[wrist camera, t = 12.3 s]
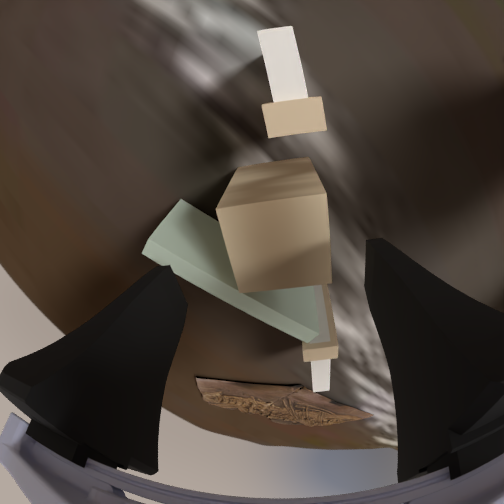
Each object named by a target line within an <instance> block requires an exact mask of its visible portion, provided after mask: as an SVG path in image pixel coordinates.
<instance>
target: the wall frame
mask: <svg viewBox="0 0 504 504" xmlns="http://www.w3.org/2000/svg"><path fill="white" fill-rule="evenodd" d="M257 33H258V37H259V41H260V45H261V49H262V53H263V57H264V62H265V66H266V70H267V75H268V79H269V84H270V88H271V93H272V97H273V102H268V103H265V104H262V110H263V114H264V119H265V124H266V129H267V133H268V138H273V137H280V136H286V135H293V134H301V133H309V132H317V131H327V128H326V121H325V115H324V109H323V103H322V98H321V97H308V94H307V89H306V84H305V79H304V75H303V70H302V65H301V61H300V57H299V52H298V48H297V44H296V40H295V36H294V32H293V28H292V26H288V27H280V28H272V29H266V30H260V31H257ZM314 293H315V301H316V308H317V316H318V325H319V333H320V334H319V335H318V336H316V337H315V338H314V339H312V340H311V341H310V342H309V343H306V342H304V341H302V348H303V358H304V362H308V361H311V369H312V383H313V392H320V391H328V390H329V389H330V359H333V358H338V341H337V335H336V329H335V323H334V317H333V312H332V306H331V301H330V296H329V291H328V286H327V284H322V285H314Z"/></svg>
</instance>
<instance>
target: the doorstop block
mask: <svg viewBox="0 0 504 504" xmlns="http://www.w3.org/2000/svg"><path fill="white" fill-rule="evenodd" d="M216 212H217V216H218V220H219V223H220V227H221V230H222V234H223V238H224V241H225V245H226V248H227V252H228V255H229V259H230V262H231V266H232V269H233V273H234V276H235V280H236V283H237V286H238V290H239V293H248V292H258V291H269V290H278V289H288V288H297V287H306V286H314V285H322V284H331V283H332V271H331V247H330V230H329V216H328V204H327V193H326V191H325V189H324V187H323V185H322V183H321V181H320V179H319V177H318V174H317V172H316V170H315V168H314V166H313V164H312V162H311V160H310V158H309V157H303V158H296V159H288V160H281V161H274V162H267V163H261V164H255V165H249V166H243V167H238V168H237V170H236V172H235V173H234V175H233V177H232V179H231V181H230V183H229V185H228V186H227V188H226V190H225V192H224V194H223V196H222V198H221V200H220V202H219V204H218V206H217V207H216Z"/></svg>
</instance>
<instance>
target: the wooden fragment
mask: <svg viewBox="0 0 504 504" xmlns="http://www.w3.org/2000/svg"><path fill="white" fill-rule="evenodd" d="M195 376H196V375H195ZM196 380H197V387H198V389H199V390H200V392H201V393H202V396H203V399H204V400H205V401H208V403H209V404H210V405H217V406H220V407H223V408H226V409H232V410H234V409H236V408H237V409H238V410H240V411H241V412H243V413H246V414H248V413H249V414H256V413H257V414H258V415H262V416H264V417H266V418H271V421H273V422H276V423H280V424H294V425H299V424H301V425H308V426H310V427H311V426H315V425H319V426H322V425H326V426H329V425H332V424H334V423H342V422H345V421H354V420H360V419H363V418H368V417H371V416H373V415H372V414H370V413H366V412H363V411H360V410H358V409H355V408H353V407H349V406H346V405H343V404H339V403H337V402H335V401H333V400H330V399H328V398H326V397H324V396H322V395H319V394H318V393H317V394H316V393H314V392H313V391H311V390H308V389H307V388H306V387H304V388H302V389H301V390H300V389H299V388H301V387H303V385H295V386H292V387H290V386H273V385H258V384H248V383H238V382H230V381H221V380H210V379H200V378H196Z"/></svg>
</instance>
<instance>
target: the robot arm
mask: <svg viewBox="0 0 504 504" xmlns="http://www.w3.org/2000/svg"><path fill="white" fill-rule="evenodd" d="M364 287H365V291H366V295H367V300H368V304H369V308H370V311H371V314H372V317H373V320H374V323H375V325H376V328H377V331H378V334H379V337H380V340H381V343H382V346H383V349H384V352H385V355H386V358H387V362H388V366H389V369H390V375H391V380H392V386H393V393H394V400H395V409H396V419H397V435H398V469H397V475H398V483H397V484H394V485H389V486H385V487H381V488H376V489H371V490H367V491H361V492H355V493H349V494H342V495H334V496H324V497H314V498H313V497H312V498H294V499H292V498H291V499H269V498H248V497H236V496H226V495H218V494H210V493H204V492H198V491H192V490H187V489H183V488H178V487H174V486H169V485H165V484H162V483H158V482H154V481H150V480H147V479H143V478H140V477H137V476H134V475H131V474H128V473H125V472H122V471H119V470H117V467H119V468H122V469H125V470H127V469H131V470H135V471H138V472H141V473H144V474H148V475H153V474H155V473H157V472H158V435H159V421H160V414H161V407H162V400H163V395H164V389H165V384H166V380H167V376H168V373H169V370H170V367H171V364H172V360H173V357H174V355H175V352H176V349H177V346H178V343H179V340H180V337H181V334H182V331H183V327H184V323H185V318H186V312H187V306H188V304H187V302H186V299H185V297H184V295H183V293H182V291H181V288H180V286H179V284H178V282H177V279H176V277H175V275H174V273H173V270H172V268H171V266H170V265H165V266H157V267H155V268H154V269H152V270H151V271H149V272H148V273H147V274H145V275H144V276H143V277H142V278H140V279H139V280H138V281H137V282H135V283H134V284H133V285H132V286H131V287H130V288H128V289H127V290H126V291H125V292H124V293H122V294H121V295H120V296H119V297H118V298H116V299H115V300H114V301H113V302H112V303H110V304H109V305H108V306H107V307H105V308H104V309H103V310H102V311H100V312H99V313H98V314H97V315H95V316H94V317H93V318H91V319H90V320H89V321H87V322H86V323H84V324H83V325H82V326H80V327H79V328H77V329H76V330H74V331H73V332H71V333H69V334H68V335H66V336H64V337H63V338H61V339H59V340H58V341H56V342H54V343H52V344H51V345H48V346H47V347H45V348H43V349H40V350H38V351H36V352H34V353H32V354H30V355H27V356H24V357H22V358H19V359H17V360H14V361H11V362H9V363H8V364H7V365H6V366H5V367H4V369H3V370H2V372H1V374H0V392H1V393H2V394H3V395H4V396H5V397H6V398H8V400H9V401H11V402H12V403H13V404H14V405H15V406H16V407H17V408H19V409H20V410H21V411H22V412H23V413H24V414H26V415H27V416H28V417H29V418H31V422H30V424H29V423H27V422H26V421H25V420H23V419H22V418H20V417H19V416H17V415H16V414H14V413H11V414H10V416H9V418H8V420H7V422H6V425H5V427H4V429H3V431H2V434H1V436H0V463H1V464H2V465H3V466H4V467H5V468H6V470H7V471H8V472H9V473H10V474H11V476H12V477H13V478H14V480H15V481H16V483H17V484H18V486H19V487H20V489H21V490H22V491H23V493H24V494H25V496H26V497H27V498H28V499H29V501H30V502H31V504H144V503H141V502H137V501H134V500H131V499H128V498H127V497H126V496H125V493H124V492H123V490H124V491H127V492H130V493H132V494H135V495H138V496H141V497H144V498H147V499H151V500H154V501H157V502H160V503H164V504H401V503H403V504H504V313H502V312H499V311H497V310H495V309H493V308H491V307H489V306H487V305H485V304H483V303H481V302H478V301H477V300H475V299H473V298H471V297H469V296H467V295H466V294H464V293H462V292H460V291H459V290H457V289H455V288H454V287H452V286H450V285H449V284H447V283H446V282H444V281H442V280H441V279H440V278H438V277H437V276H435V275H434V274H432V273H431V272H429V271H428V270H426V269H425V268H423V267H422V266H421V265H419V264H418V263H416V262H415V261H414V260H412V259H411V258H410V257H408V256H407V255H406V254H404V253H403V252H402V251H400V250H399V249H397V248H396V247H395V246H393V245H392V244H391V243H389V242H388V241H386V240H385V239H383V238H379V239H371V240H366V263H365V284H364ZM121 489H122V490H121Z"/></svg>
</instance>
